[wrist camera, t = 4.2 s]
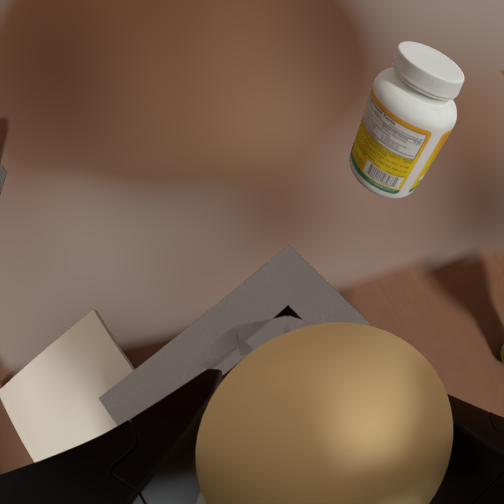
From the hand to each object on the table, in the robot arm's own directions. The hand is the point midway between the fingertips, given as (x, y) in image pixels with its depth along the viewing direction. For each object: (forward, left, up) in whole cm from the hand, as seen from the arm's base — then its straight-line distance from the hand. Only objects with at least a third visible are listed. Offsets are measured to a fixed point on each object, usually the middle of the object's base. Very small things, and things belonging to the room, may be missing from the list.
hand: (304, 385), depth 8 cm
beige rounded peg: (-1, -1, -7) cm, 7 cm away
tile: (-10, +5, -7) cm, 13 cm away
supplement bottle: (+15, +5, -7) cm, 18 cm away
